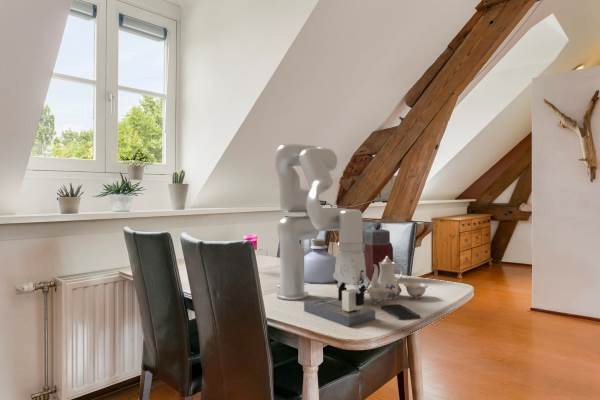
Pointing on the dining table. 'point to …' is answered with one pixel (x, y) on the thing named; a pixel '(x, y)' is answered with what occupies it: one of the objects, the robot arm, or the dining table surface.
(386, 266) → the chinaware
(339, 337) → the dining table surface
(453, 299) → the dining table surface
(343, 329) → the dining table surface
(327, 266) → the bottle
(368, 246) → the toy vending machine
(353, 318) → the fader console
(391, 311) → the phone
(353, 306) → the fader tab
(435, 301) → the dining table surface
